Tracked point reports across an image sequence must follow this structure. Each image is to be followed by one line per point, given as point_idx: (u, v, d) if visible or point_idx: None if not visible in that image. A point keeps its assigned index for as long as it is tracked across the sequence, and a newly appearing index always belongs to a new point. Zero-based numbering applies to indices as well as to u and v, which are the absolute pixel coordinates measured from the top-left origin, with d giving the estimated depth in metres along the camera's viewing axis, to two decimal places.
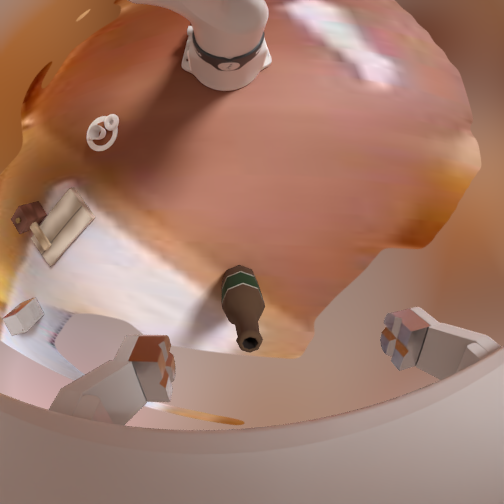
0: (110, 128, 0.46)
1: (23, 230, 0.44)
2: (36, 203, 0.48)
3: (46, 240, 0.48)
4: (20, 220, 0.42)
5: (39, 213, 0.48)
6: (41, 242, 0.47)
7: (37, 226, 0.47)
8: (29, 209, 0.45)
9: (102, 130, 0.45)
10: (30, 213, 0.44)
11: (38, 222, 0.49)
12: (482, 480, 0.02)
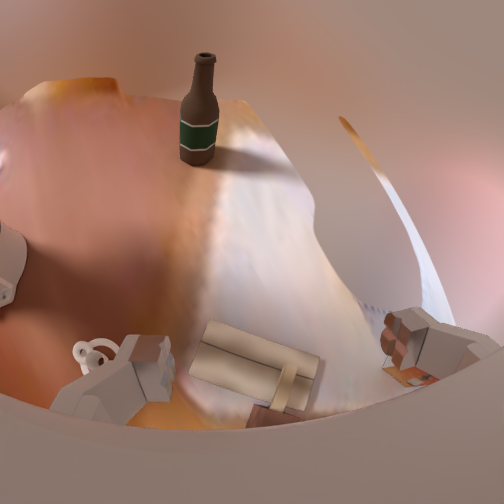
0: (89, 348, 0.33)
1: (290, 415, 0.30)
2: None
3: (282, 373, 0.35)
4: None
5: (255, 412, 0.33)
6: (290, 378, 0.34)
7: (273, 400, 0.33)
8: (255, 426, 0.30)
9: (91, 352, 0.32)
10: (258, 419, 0.30)
11: None
12: (482, 480, 0.02)
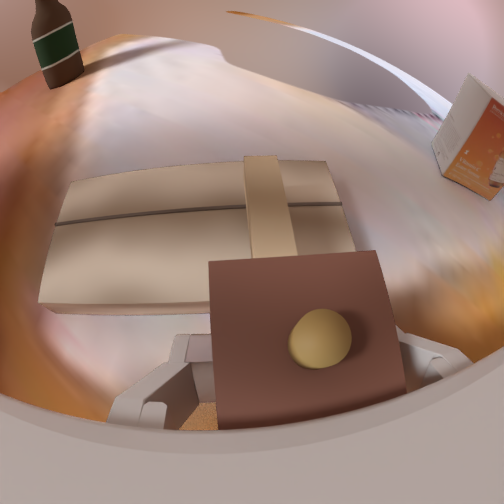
0: None
1: None
2: None
3: (245, 189, 0.13)
4: (294, 327, 0.06)
5: None
6: (269, 184, 0.12)
7: None
8: None
9: None
10: None
11: None
12: (482, 480, 0.02)
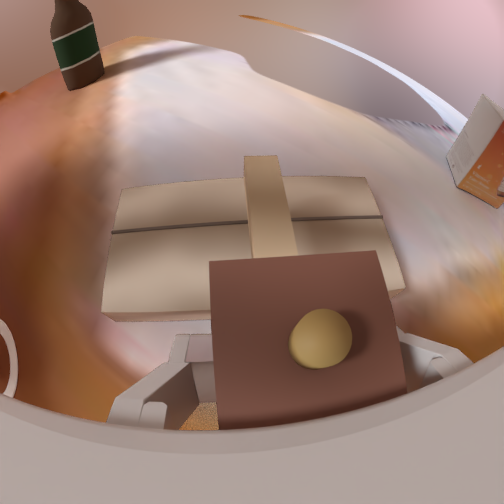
0: None
1: None
2: None
3: (246, 189, 0.13)
4: (295, 327, 0.06)
5: None
6: (270, 184, 0.12)
7: None
8: None
9: None
10: None
11: None
12: (482, 480, 0.02)
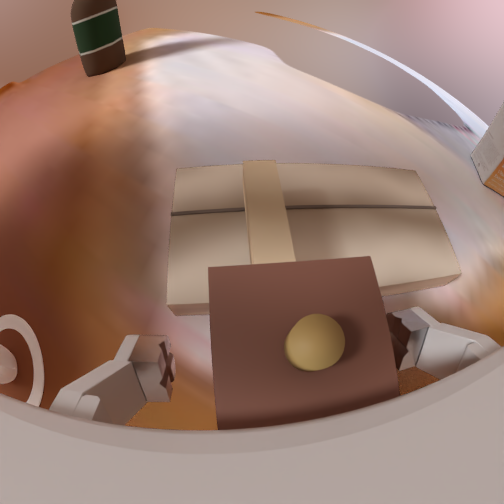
0: None
1: None
2: None
3: (244, 193, 0.13)
4: (291, 331, 0.06)
5: None
6: (268, 188, 0.12)
7: None
8: None
9: None
10: None
11: None
12: (482, 480, 0.02)
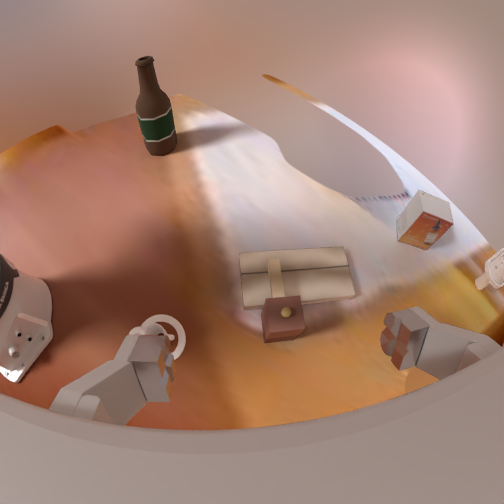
0: (144, 330, 0.38)
1: None
2: (264, 338, 0.39)
3: (269, 270, 0.40)
4: (282, 310, 0.34)
5: (263, 317, 0.39)
6: (276, 270, 0.40)
7: (272, 297, 0.39)
8: (266, 325, 0.36)
9: (147, 329, 0.36)
10: (265, 316, 0.36)
11: None
12: (482, 480, 0.02)
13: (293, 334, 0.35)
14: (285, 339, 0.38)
